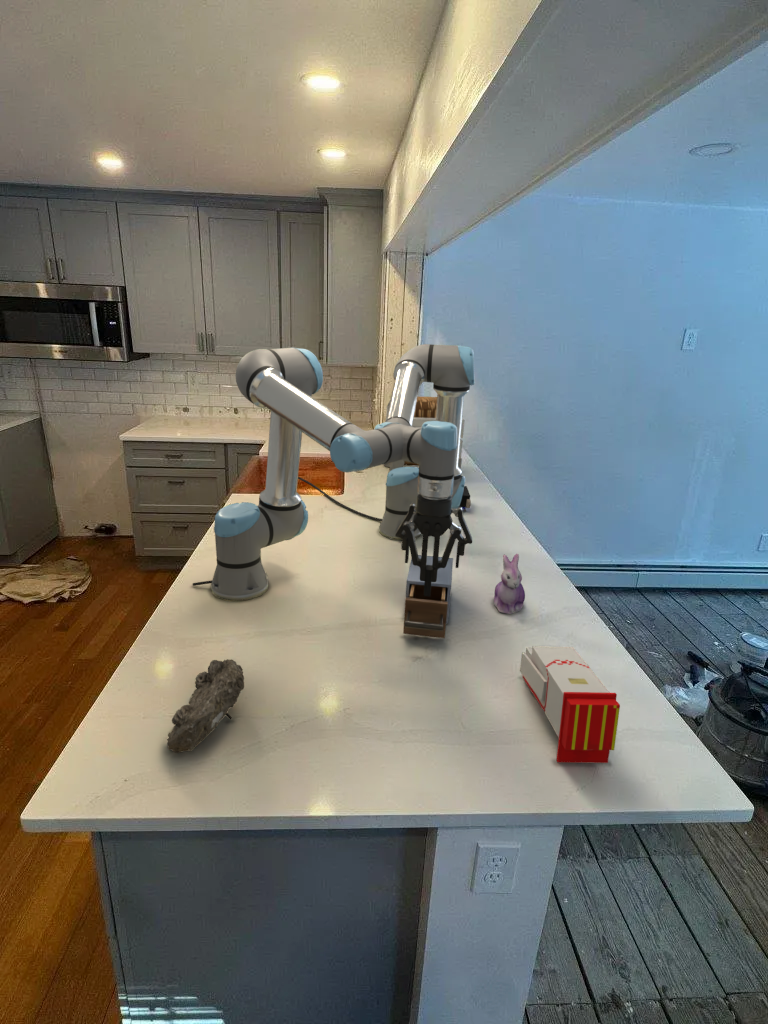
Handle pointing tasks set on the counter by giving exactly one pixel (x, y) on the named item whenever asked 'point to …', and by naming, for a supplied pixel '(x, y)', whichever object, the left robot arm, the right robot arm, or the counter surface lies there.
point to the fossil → (206, 705)
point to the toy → (572, 703)
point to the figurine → (509, 587)
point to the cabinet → (442, 581)
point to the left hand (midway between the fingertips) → (427, 593)
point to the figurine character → (465, 499)
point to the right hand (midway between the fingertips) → (431, 563)
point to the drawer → (425, 612)
